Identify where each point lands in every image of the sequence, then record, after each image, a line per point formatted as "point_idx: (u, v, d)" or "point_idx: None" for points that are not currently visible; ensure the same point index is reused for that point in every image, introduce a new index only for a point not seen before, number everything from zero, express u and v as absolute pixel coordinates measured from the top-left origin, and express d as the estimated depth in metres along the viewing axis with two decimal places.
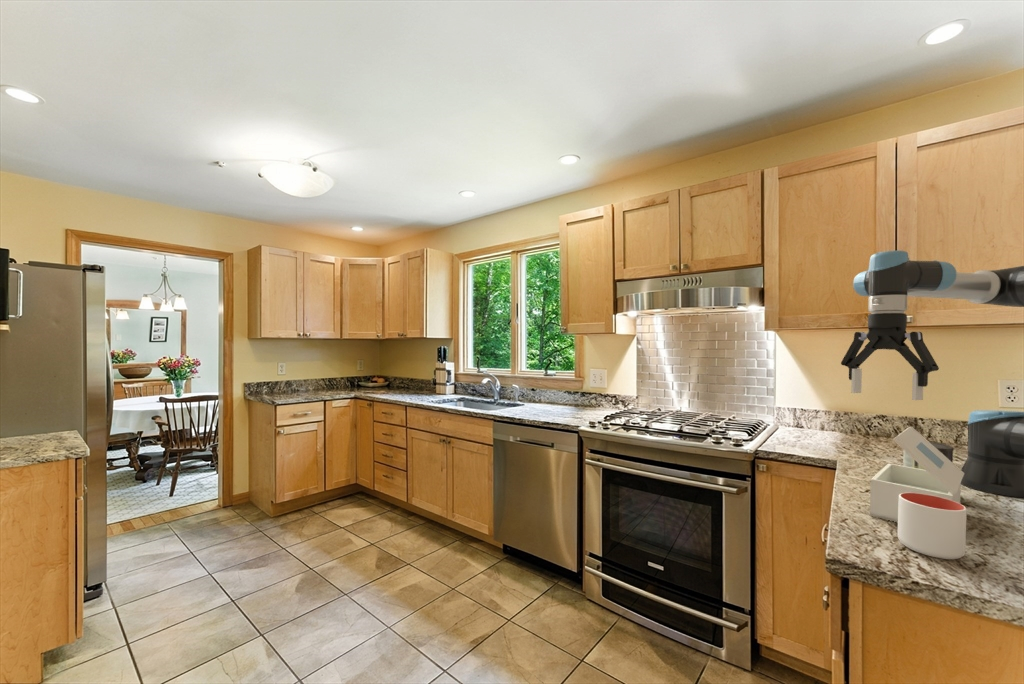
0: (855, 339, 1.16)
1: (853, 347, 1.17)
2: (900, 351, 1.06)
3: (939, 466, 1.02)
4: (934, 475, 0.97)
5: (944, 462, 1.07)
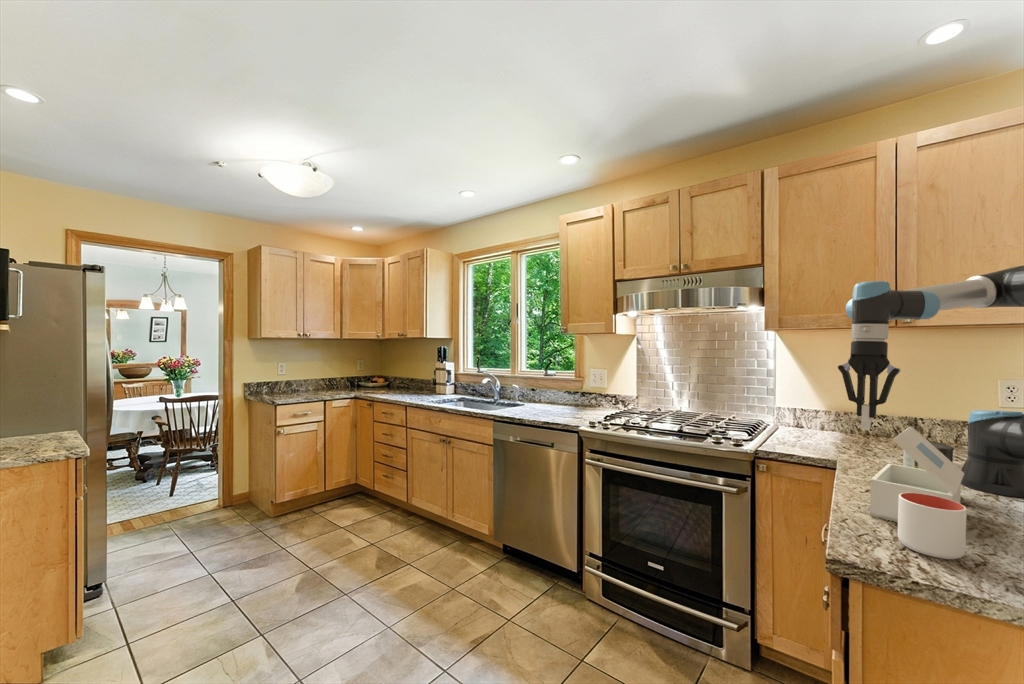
0: (843, 372, 1.18)
1: (847, 379, 1.17)
2: (871, 380, 1.13)
3: (939, 466, 1.02)
4: (934, 475, 0.97)
5: (944, 462, 1.07)
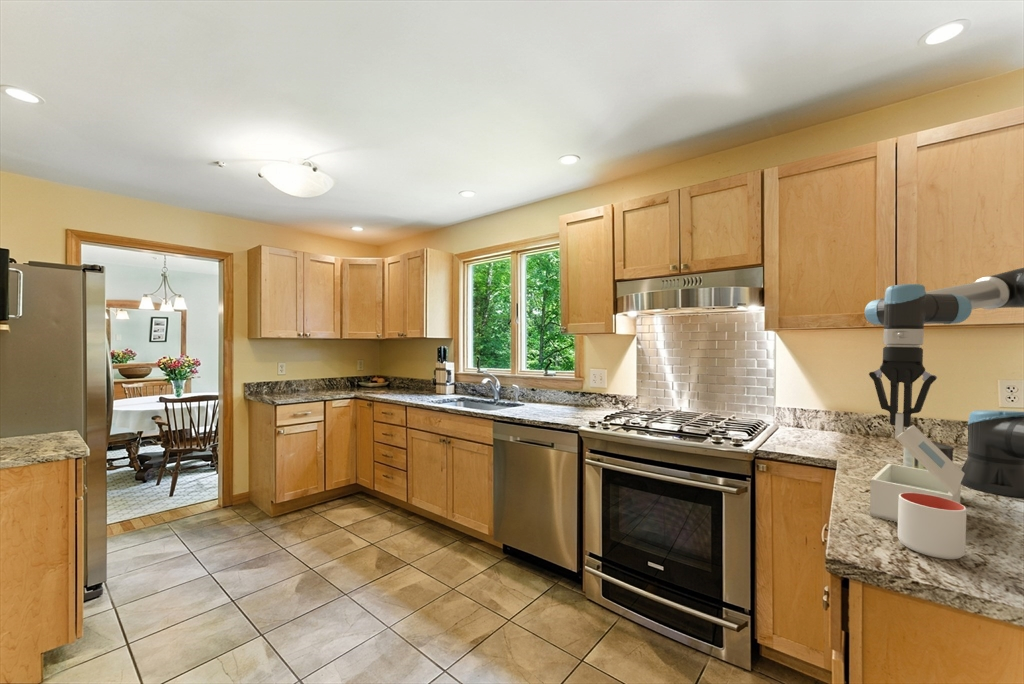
0: (875, 379, 1.13)
1: (879, 387, 1.12)
2: (906, 388, 1.08)
3: (940, 466, 1.02)
4: (935, 475, 0.97)
5: (945, 462, 1.07)
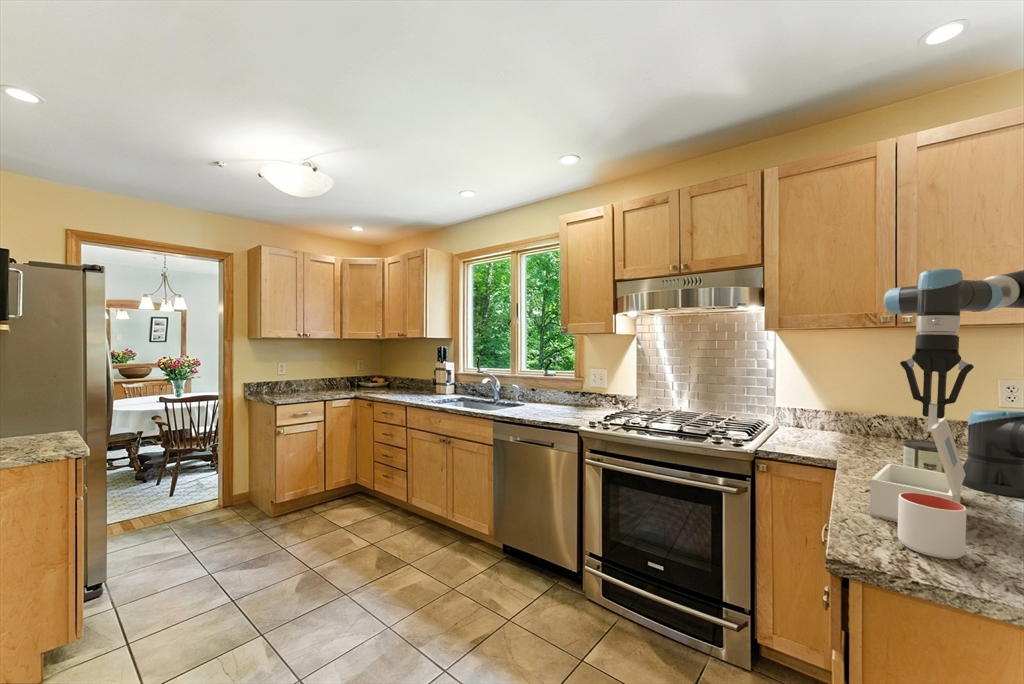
0: (906, 368, 1.08)
1: (912, 377, 1.07)
2: (940, 377, 1.03)
3: (954, 465, 1.00)
4: (948, 473, 0.95)
5: (957, 461, 1.05)
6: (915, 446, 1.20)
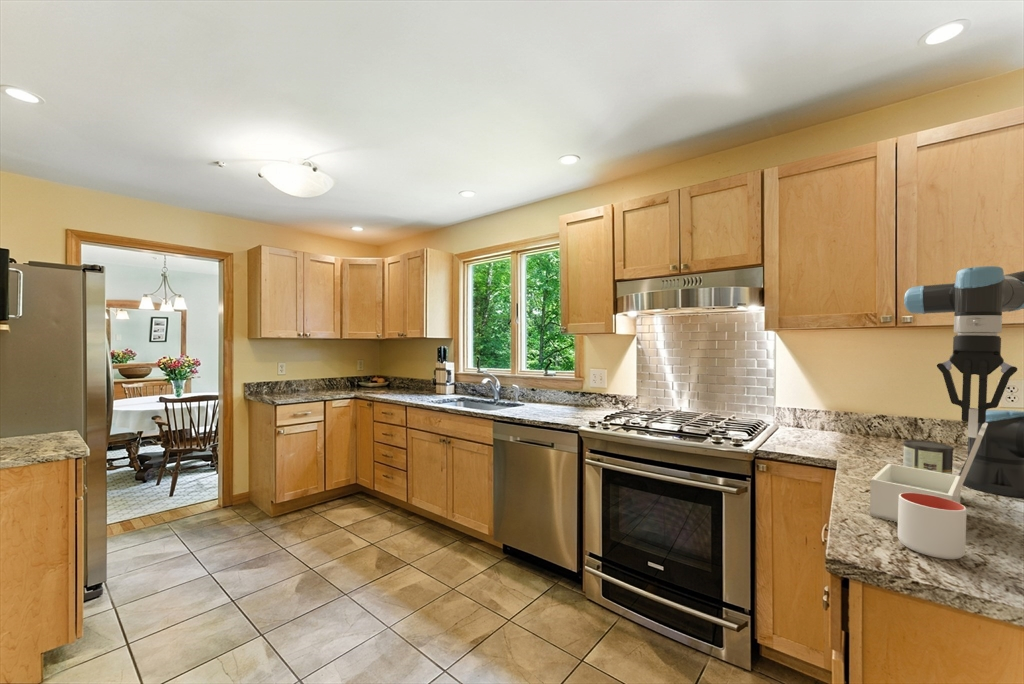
0: (944, 371, 1.03)
1: (950, 380, 1.02)
2: (981, 381, 0.98)
3: (969, 469, 0.98)
4: (963, 477, 0.93)
5: None
6: (915, 446, 1.20)
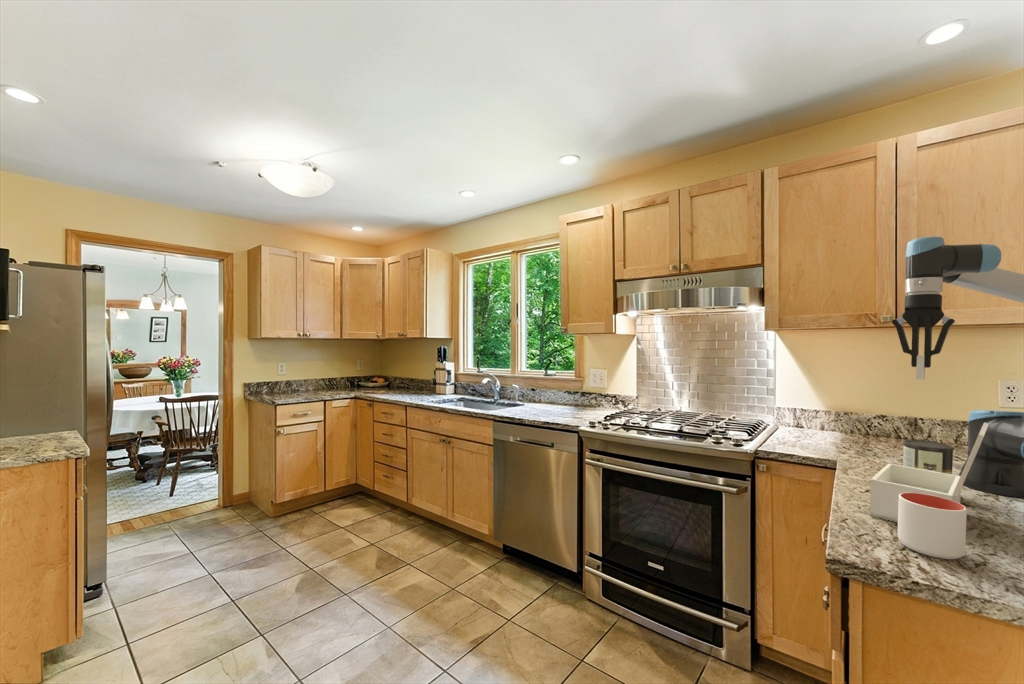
0: (897, 326, 1.23)
1: (902, 333, 1.22)
2: (926, 332, 1.19)
3: (969, 469, 0.98)
4: (963, 477, 0.93)
5: None
6: (915, 446, 1.20)
